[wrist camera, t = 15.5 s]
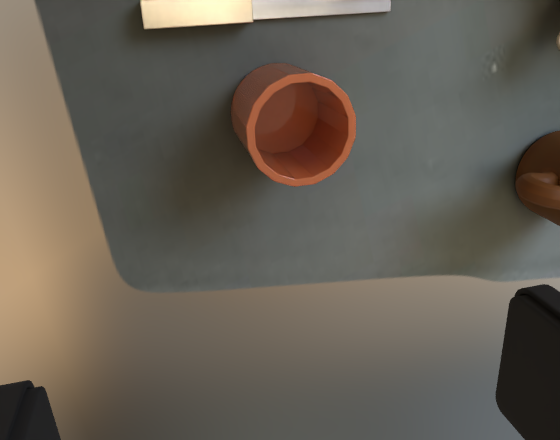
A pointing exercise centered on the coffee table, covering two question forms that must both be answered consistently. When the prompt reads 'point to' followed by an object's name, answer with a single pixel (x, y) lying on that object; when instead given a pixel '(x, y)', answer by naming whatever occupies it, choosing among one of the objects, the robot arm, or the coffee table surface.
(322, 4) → the knife
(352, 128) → the pot
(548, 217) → the mug
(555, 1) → the coffee table surface
